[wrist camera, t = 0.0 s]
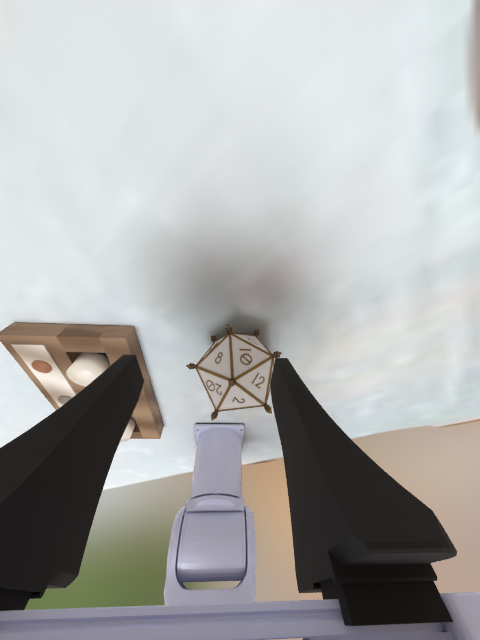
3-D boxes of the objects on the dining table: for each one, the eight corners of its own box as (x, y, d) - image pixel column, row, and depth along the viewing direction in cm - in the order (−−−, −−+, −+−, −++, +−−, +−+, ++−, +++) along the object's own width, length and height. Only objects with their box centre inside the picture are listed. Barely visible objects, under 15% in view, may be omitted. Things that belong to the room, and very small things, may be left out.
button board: (163, 425, 33) (159, 441, 31) (86, 425, 32) (77, 440, 30) (133, 326, 22) (123, 340, 20) (14, 322, 21) (-9, 337, 19)
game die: (230, 334, 27) (188, 407, 23) (214, 292, 20) (149, 385, 16) (296, 360, 24) (261, 449, 20) (304, 320, 17) (253, 445, 13)
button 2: (138, 427, 30) (132, 441, 29) (116, 426, 30) (109, 441, 28) (133, 415, 28) (126, 429, 27) (109, 414, 28) (101, 429, 27)
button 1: (114, 372, 23) (105, 387, 22) (85, 371, 23) (74, 386, 22) (105, 352, 22) (94, 366, 20) (73, 351, 21) (60, 365, 20)
